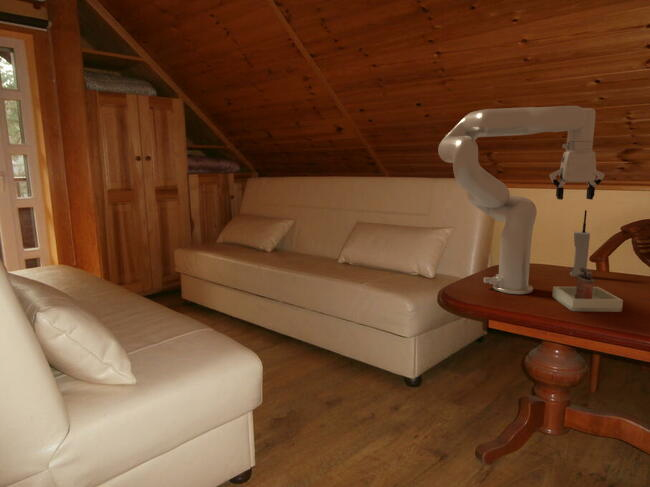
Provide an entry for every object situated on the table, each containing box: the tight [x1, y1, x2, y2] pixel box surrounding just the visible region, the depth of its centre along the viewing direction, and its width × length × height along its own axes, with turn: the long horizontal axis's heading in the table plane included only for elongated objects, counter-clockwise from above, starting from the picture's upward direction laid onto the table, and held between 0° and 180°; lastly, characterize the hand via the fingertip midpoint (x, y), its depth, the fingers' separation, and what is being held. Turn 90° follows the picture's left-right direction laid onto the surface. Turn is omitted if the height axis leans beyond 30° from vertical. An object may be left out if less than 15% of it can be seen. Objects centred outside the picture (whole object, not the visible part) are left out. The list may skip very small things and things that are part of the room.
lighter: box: [575, 267, 595, 299], centre depth 141 cm, size 8×3×10 cm, turn 172°
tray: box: [552, 285, 624, 313], centre depth 142 cm, size 14×14×4 cm
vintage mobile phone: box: [569, 209, 591, 278], centre depth 172 cm, size 4×5×25 cm
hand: (574, 199), depth 156 cm, fingers open, 9 cm apart
